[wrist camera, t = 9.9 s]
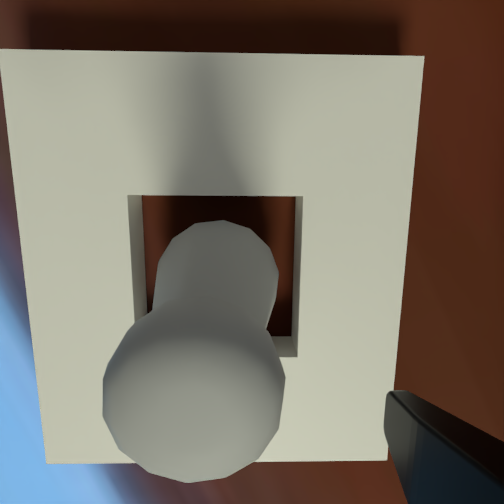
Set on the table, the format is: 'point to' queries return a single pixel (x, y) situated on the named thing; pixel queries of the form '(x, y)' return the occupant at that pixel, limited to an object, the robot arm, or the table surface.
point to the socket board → (215, 184)
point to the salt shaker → (200, 360)
